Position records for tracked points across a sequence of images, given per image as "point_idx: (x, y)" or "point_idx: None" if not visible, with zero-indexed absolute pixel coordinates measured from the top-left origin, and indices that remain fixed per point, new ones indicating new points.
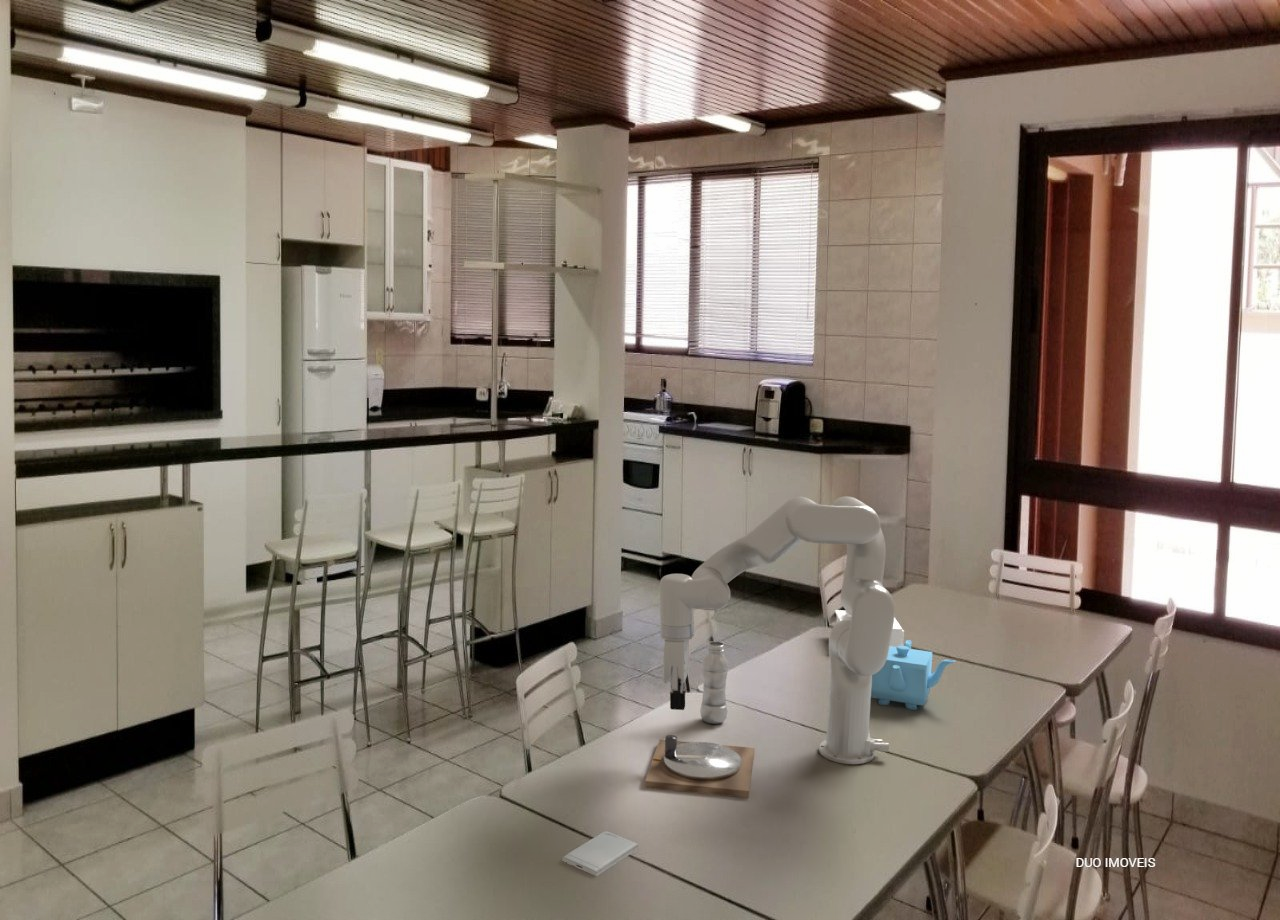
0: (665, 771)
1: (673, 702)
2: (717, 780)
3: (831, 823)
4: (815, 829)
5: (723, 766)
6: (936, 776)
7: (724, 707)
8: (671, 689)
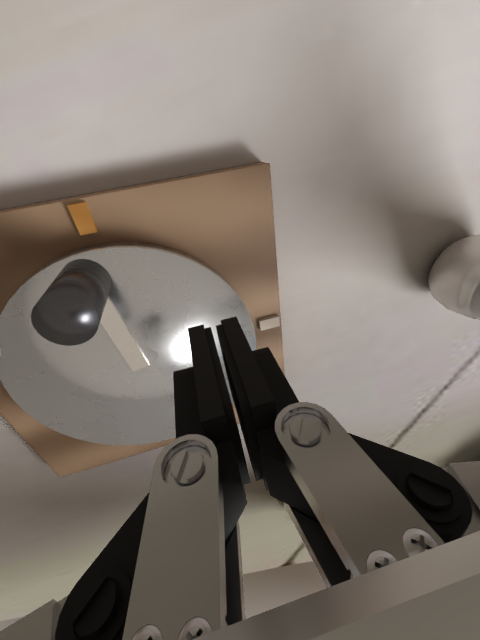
0: (5, 282)
1: (175, 388)
2: None
3: (65, 555)
4: (25, 554)
5: (117, 424)
6: (278, 551)
7: (471, 317)
8: (153, 506)
